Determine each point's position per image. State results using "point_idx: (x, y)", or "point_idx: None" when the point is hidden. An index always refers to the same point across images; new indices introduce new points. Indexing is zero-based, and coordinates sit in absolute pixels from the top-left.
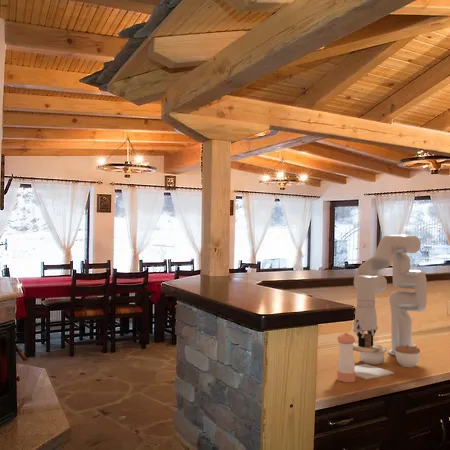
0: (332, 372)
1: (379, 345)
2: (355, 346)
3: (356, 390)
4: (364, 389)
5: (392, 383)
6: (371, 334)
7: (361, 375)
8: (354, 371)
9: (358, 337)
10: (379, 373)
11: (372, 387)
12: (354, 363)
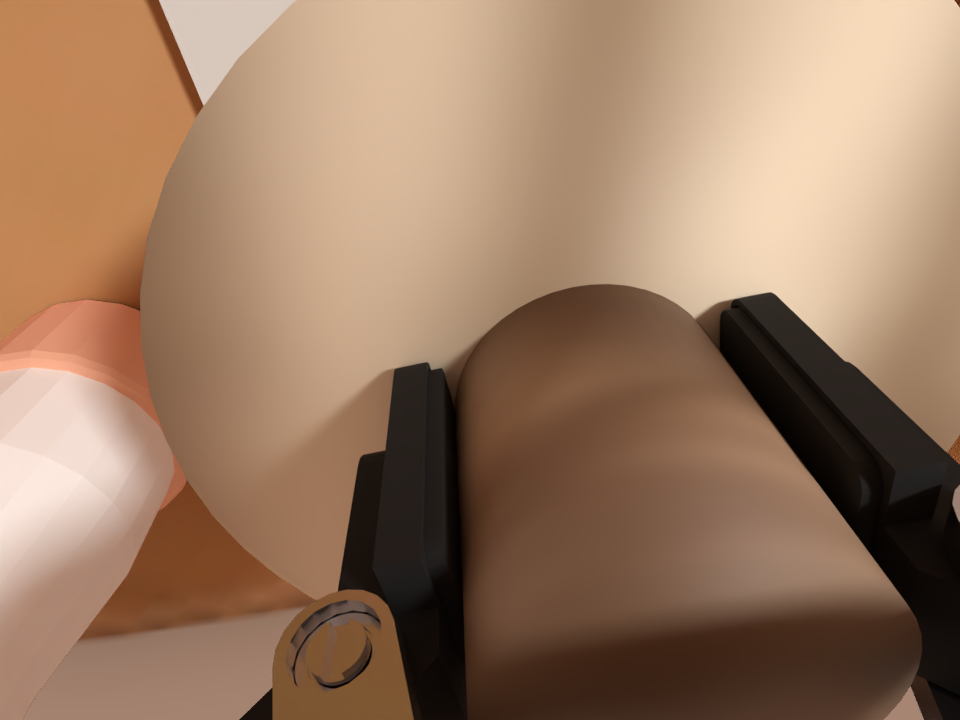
0: (14, 49)
1: (949, 426)
2: (285, 386)
3: (114, 611)
4: (190, 607)
5: None
6: (936, 703)
7: None
8: (171, 487)
9: (378, 551)
10: None
11: (280, 589)
12: (123, 578)
